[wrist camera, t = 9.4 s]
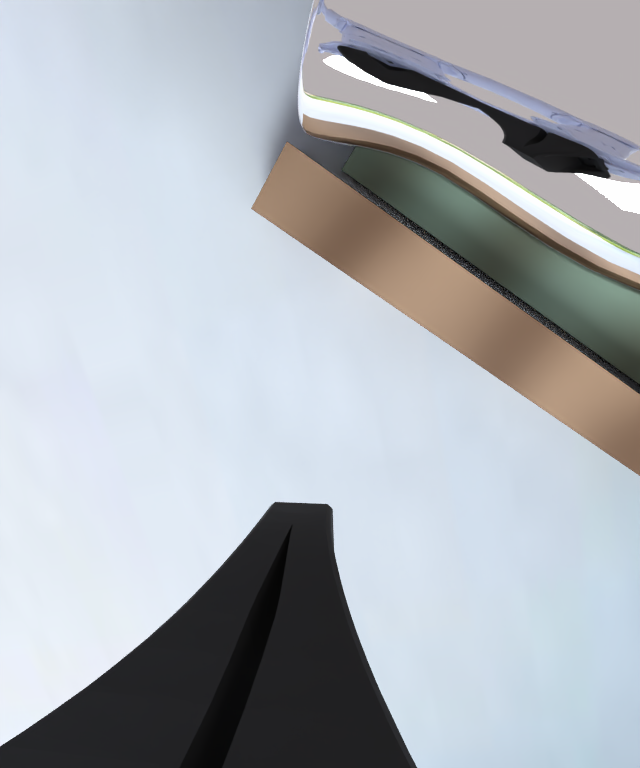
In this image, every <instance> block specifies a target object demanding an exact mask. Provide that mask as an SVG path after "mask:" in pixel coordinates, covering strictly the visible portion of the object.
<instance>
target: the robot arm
mask: <svg viewBox="0 0 640 768" xmlns="http://www.w3.org/2000/svg"><path fill="white" fill-rule="evenodd" d="M0 768H417V767H416V765H415V763H414V761H413V759H412V757H411V755H410V753H409V751H408V749H407V747H406V745H405V743H404V741H403V739H402V737H401V735H400V732H399V730H398V728H397V726H396V724H395V722H394V720H393V718H392V715H391V713H390V711H389V709H388V707H387V705H386V703H385V701H384V698H383V696H382V694H381V692H380V690H379V687H378V685H377V683H376V680H375V678H374V675H373V673H372V671H371V668H370V666H369V663H368V661H367V658H366V656H365V653H364V651H363V648H362V645H361V643H360V640H359V637H358V635H357V632H356V629H355V626H354V623H353V620H352V617H351V614H350V611H349V608H348V605H347V601H346V598H345V595H344V591H343V588H342V584H341V580H340V576H339V572H338V567H337V563H336V559H335V553H334V538H333V510H332V508H331V507H330V506H329V505H328V504H310V503H285V502H275V503H274V504H272V505H271V506H270V508H269V509H268V510H267V511H266V513H265V514H264V515H263V517H262V518H261V519H260V521H259V522H258V523H257V524H256V526H255V527H254V528H253V529H252V531H251V532H250V533H249V534H248V535H247V537H246V538H245V539H244V540H243V542H242V543H241V544H240V545H239V546H238V547H237V549H236V550H235V551H234V552H233V553H232V554H231V555H230V557H229V558H228V559H227V560H226V561H225V562H224V563H223V565H222V566H221V567H220V568H219V569H218V570H217V571H216V572H215V573H214V574H213V576H212V577H211V578H210V579H209V580H208V581H207V582H206V583H205V584H204V585H203V586H202V587H201V588H200V589H199V590H198V591H197V592H196V593H195V594H194V595H193V596H192V597H191V598H190V599H189V600H188V601H187V602H186V603H185V604H184V605H183V606H182V607H181V608H180V609H179V610H178V611H177V612H176V613H175V614H174V615H173V616H172V617H171V618H169V619H168V620H167V621H166V622H165V623H164V624H163V625H162V626H161V627H160V628H158V629H157V630H156V631H155V632H154V633H153V634H152V635H151V636H149V637H148V638H147V639H146V640H145V641H144V642H142V643H141V644H140V645H139V646H138V647H136V648H135V649H134V650H133V651H132V652H130V653H129V654H128V655H127V656H125V657H124V658H123V659H122V660H121V661H119V662H118V663H117V664H116V665H114V666H113V667H112V668H111V669H109V670H108V671H107V672H106V673H104V674H103V675H102V676H100V677H99V678H98V679H97V680H95V681H94V682H93V683H91V684H90V685H89V686H87V687H86V688H85V689H83V690H82V691H80V692H79V693H78V694H76V695H75V696H73V697H72V698H71V699H69V700H68V701H66V702H65V703H64V704H62V705H61V706H59V707H58V708H56V709H55V710H54V711H52V712H51V713H49V714H48V715H47V716H45V717H44V718H42V719H41V720H39V721H38V722H36V723H35V724H33V725H32V726H31V727H29V728H28V729H26V730H25V731H23V732H22V733H20V734H19V735H17V736H16V737H14V738H12V739H11V740H9V741H8V742H6V743H5V744H3V745H2V746H0Z"/></svg>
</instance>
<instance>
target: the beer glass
mask: <svg viewBox="0 0 640 768" xmlns="http://www.w3.org/2000/svg"><path fill="white" fill-rule="evenodd" d="M298 114H299V120H300V124H301V126H302V129H303V131H304V132H305V133H306V134H308V135H309V136H311V137H314V138H317V139H320V140H324V141H328V142H333V143H338V144H342V145H347V146H352V147H357V148H362V149H367V150H371V151H375V152H378V153H382V154H386V155H389V156H392V157H395V158H398V159H400V160H403V161H405V162H408V163H411V164H413V165H415V166H417V167H419V168H421V169H423V170H425V171H427V172H429V173H431V174H433V175H435V176H437V177H439V178H441V179H442V180H444V181H446V182H447V183H449V184H450V185H452V186H453V187H455V188H456V189H458V190H459V191H461V192H462V193H464V194H466V195H467V196H469V197H470V198H472V199H473V200H475V201H476V202H477V203H479V204H480V205H482V206H483V207H485V208H486V209H487V210H489V211H490V212H492V213H493V214H495V215H496V216H498V217H499V218H500V219H502V220H503V221H505V222H506V223H508V224H509V225H511V226H512V227H514V228H515V229H517V230H518V231H519V232H521V233H522V234H524V235H525V236H527V237H528V238H530V239H531V240H533V241H534V242H536V243H537V244H539V245H540V246H542V247H544V248H545V249H547V250H549V251H550V252H552V253H554V254H555V255H557V256H558V257H560V258H562V259H563V260H565V261H567V262H568V263H570V264H572V265H573V266H575V267H577V268H579V269H581V270H583V271H585V272H587V273H589V274H591V275H593V276H596V277H598V278H600V279H602V280H604V281H606V282H608V283H610V284H612V285H614V286H617V287H619V288H622V289H624V290H627V291H629V292H632V293H634V294H637V295H639V296H640V0H313V2H312V7H311V11H310V15H309V20H308V25H307V30H306V35H305V40H304V46H303V52H302V58H301V66H300V74H299V85H298Z"/></svg>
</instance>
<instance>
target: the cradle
mask: <svg viewBox="0 0 640 768" xmlns="http://www.w3.org/2000/svg"><path fill="white" fill-rule="evenodd" d="M342 171H344V172H345V173H347V174H348V175H349V176H351V177H352V178H353V179H355V180H356V181H358V182H359V183H360V184H362V185H363V186H365V187H366V188H367V189H369V190H370V191H372V192H373V193H374V194H376V195H377V196H378V197H380V198H381V199H383V200H384V201H385V202H387V203H388V204H390V205H391V206H392V207H394V208H395V209H397V210H398V211H399V212H401V213H402V214H403V215H405V216H406V217H408V218H409V219H410V220H412V221H413V222H415V223H416V224H417V225H419V226H420V227H422V228H423V229H424V230H426V231H427V232H428V233H430V234H431V235H433V236H434V237H435V238H437V239H438V240H440V241H441V242H442V243H444V244H445V245H446V246H448V247H449V248H451V249H452V250H453V251H455V252H456V253H458V254H459V255H460V256H462V257H463V258H465V259H466V260H467V261H469V262H470V263H471V264H473V265H474V266H476V267H477V268H478V269H480V270H481V271H483V272H484V273H485V274H487V275H488V276H490V277H491V278H492V279H494V280H495V281H496V282H498V283H499V284H501V285H502V286H503V287H505V288H506V289H508V290H509V291H510V292H512V293H513V294H515V295H516V296H517V297H519V298H520V299H521V300H523V301H524V302H526V303H527V304H528V305H530V306H531V307H533V308H534V309H535V310H537V311H538V312H540V313H541V314H542V315H544V316H545V317H546V318H548V319H549V320H551V321H552V322H553V323H555V324H556V325H558V326H559V327H560V328H562V329H563V330H565V331H566V332H567V333H569V334H570V335H571V336H573V337H574V338H576V339H577V340H578V341H580V342H581V343H583V344H584V345H585V346H587V347H588V348H590V349H591V350H592V351H594V352H595V353H596V354H598V355H599V356H601V357H602V358H603V359H605V360H606V361H608V362H609V363H610V364H612V365H613V366H615V367H616V368H617V369H619V370H620V371H621V372H623V373H624V374H626V375H627V376H628V377H630V378H631V379H633V380H634V381H635V382H637V383H638V384H640V296H639V295H637V294H634V293H632V292H629V291H627V290H624V289H622V288H619V287H617V286H614V285H612V284H610V283H608V282H606V281H604V280H602V279H600V278H598V277H596V276H593V275H591V274H589V273H587V272H585V271H583V270H581V269H579V268H577V267H575V266H573V265H572V264H570V263H568V262H567V261H565V260H563V259H562V258H560V257H558V256H557V255H555V254H554V253H552V252H550V251H549V250H547V249H545V248H544V247H542V246H540V245H539V244H537V243H536V242H534V241H533V240H531V239H530V238H528V237H527V236H525V235H524V234H522V233H521V232H519V231H518V230H517V229H515V228H514V227H512V226H511V225H509V224H508V223H506V222H505V221H503V220H502V219H500V218H499V217H498V216H496V215H495V214H493V213H492V212H490V211H489V210H487V209H486V208H485V207H483V206H482V205H480V204H479V203H477V202H476V201H475V200H473V199H472V198H470V197H469V196H467V195H466V194H464V193H462V192H461V191H459V190H458V189H456V188H455V187H453V186H452V185H450V184H449V183H447V182H446V181H444V180H442V179H441V178H439V177H437V176H435V175H433V174H431V173H429V172H427V171H425V170H423V169H421V168H419V167H417V166H415V165H413V164H411V163H408V162H405V161H403V160H400V159H398V158H395V157H392V156H389V155H386V154H382V153H378V152H375V151H371V150H367V149H362V148H357V147H355V148H354V150H353V152H352V154H351V155H350V157H349V159H348V160H347V162H346V164H345V165H344V167H343V169H342ZM251 209H252V210H254V211H255V212H257V213H258V214H260V215H261V216H263V217H264V218H266V219H267V220H268V221H270V222H271V223H273V224H274V225H276V226H277V227H279V228H280V229H282V230H283V231H284V232H286V233H287V234H289V235H290V236H292V237H293V238H295V239H296V240H298V241H299V242H300V243H302V244H303V245H305V246H306V247H308V248H309V249H311V250H312V251H314V252H315V253H316V254H318V255H319V256H321V257H322V258H324V259H325V260H327V261H328V262H330V263H331V264H332V265H334V266H335V267H337V268H338V269H340V270H341V271H343V272H344V273H346V274H347V275H348V276H350V277H351V278H353V279H354V280H356V281H357V282H359V283H360V284H362V285H363V286H364V287H366V288H367V289H369V290H370V291H372V292H373V293H375V294H376V295H378V296H379V297H380V298H382V299H383V300H385V301H386V302H388V303H389V304H391V305H392V306H394V307H395V308H396V309H398V310H399V311H401V312H402V313H404V314H405V315H407V316H408V317H410V318H411V319H412V320H414V321H415V322H417V323H418V324H420V325H421V326H423V327H424V328H426V329H427V330H428V331H430V332H431V333H433V334H434V335H436V336H437V337H439V338H440V339H442V340H443V341H444V342H446V343H447V344H449V345H450V346H452V347H453V348H455V349H456V350H458V351H459V352H460V353H462V354H463V355H465V356H466V357H468V358H469V359H471V360H472V361H474V362H475V363H476V364H478V365H479V366H481V367H482V368H484V369H485V370H487V371H488V372H490V373H491V374H492V375H494V376H495V377H497V378H498V379H500V380H501V381H503V382H504V383H506V384H507V385H508V386H510V387H511V388H513V389H514V390H516V391H517V392H519V393H520V394H522V395H523V396H524V397H526V398H527V399H529V400H530V401H532V402H533V403H535V404H536V405H538V406H539V407H540V408H542V409H543V410H545V411H546V412H548V413H549V414H551V415H552V416H554V417H555V418H556V419H558V420H559V421H561V422H562V423H564V424H565V425H567V426H568V427H570V428H571V429H572V430H574V431H575V432H577V433H578V434H580V435H581V436H583V437H584V438H586V439H587V440H588V441H590V442H591V443H593V444H594V445H596V446H597V447H599V448H600V449H602V450H603V451H604V452H606V453H607V454H609V455H610V456H612V457H613V458H615V459H616V460H618V461H619V462H620V463H622V464H623V465H625V466H626V467H628V468H629V469H631V470H632V471H634V472H635V473H636V474H638V475H639V476H640V394H639V393H637V392H636V391H635V390H633V389H632V388H630V387H629V386H628V385H626V384H625V383H623V382H622V381H621V380H619V379H618V378H616V377H615V376H614V375H612V374H611V373H609V372H608V371H607V370H605V369H604V368H602V367H601V366H600V365H598V364H597V363H596V362H594V361H593V360H591V359H590V358H589V357H587V356H586V355H584V354H583V353H582V352H580V351H579V350H577V349H576V348H575V347H573V346H572V345H570V344H569V343H568V342H566V341H565V340H563V339H562V338H561V337H559V336H558V335H556V334H555V333H554V332H552V331H551V330H549V329H548V328H547V327H545V326H544V325H542V324H541V323H540V322H538V321H537V320H536V319H534V318H533V317H531V316H530V315H529V314H527V313H526V312H524V311H523V310H522V309H520V308H519V307H517V306H516V305H515V304H513V303H512V302H510V301H509V300H508V299H506V298H505V297H503V296H502V295H501V294H499V293H498V292H496V291H495V290H494V289H492V288H491V287H489V286H488V285H487V284H485V283H484V282H482V281H481V280H480V279H478V278H477V277H476V276H474V275H473V274H471V273H470V272H469V271H467V270H466V269H464V268H463V267H462V266H460V265H459V264H457V263H456V262H455V261H453V260H452V259H450V258H449V257H448V256H446V255H445V254H443V253H442V252H441V251H439V250H438V249H436V248H435V247H434V246H432V245H431V244H429V243H428V242H427V241H425V240H424V239H423V238H421V237H420V236H418V235H417V234H416V233H414V232H413V231H411V230H410V229H409V228H407V227H406V226H404V225H403V224H402V223H400V222H399V221H397V220H396V219H395V218H393V217H392V216H390V215H389V214H388V213H386V212H385V211H383V210H382V209H381V208H379V207H378V206H376V205H375V204H374V203H372V202H371V201H369V200H368V199H367V198H365V197H364V196H363V195H361V194H360V193H358V192H357V191H356V190H354V189H353V188H351V187H350V186H349V185H347V184H346V183H344V182H343V181H342V180H340V179H339V178H337V177H336V176H335V175H333V174H332V173H330V172H329V171H328V170H326V169H325V168H323V167H322V166H321V165H319V164H318V163H316V162H315V161H314V160H312V159H311V158H309V157H308V156H307V155H305V154H304V153H303V152H301V151H300V150H298V149H297V148H295V147H294V146H293V145H291V144H290V143H288V142H286V144H285V146H284V148H283V150H282V152H281V154H280V155H279V157H278V159H277V161H276V163H275V165H274V167H273V169H272V171H271V172H270V174H269V176H268V178H267V180H266V182H265V184H264V186H263V187H262V189H261V191H260V193H259V195H258V197H257V199H256V201H255V203H254V204H253V206H252V208H251Z"/></svg>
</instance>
